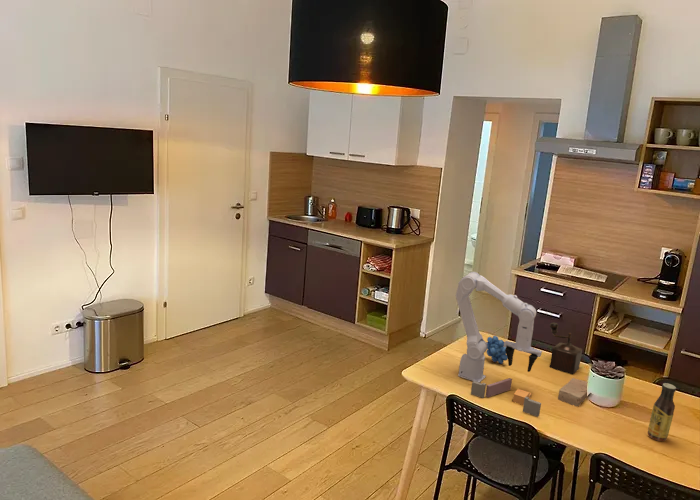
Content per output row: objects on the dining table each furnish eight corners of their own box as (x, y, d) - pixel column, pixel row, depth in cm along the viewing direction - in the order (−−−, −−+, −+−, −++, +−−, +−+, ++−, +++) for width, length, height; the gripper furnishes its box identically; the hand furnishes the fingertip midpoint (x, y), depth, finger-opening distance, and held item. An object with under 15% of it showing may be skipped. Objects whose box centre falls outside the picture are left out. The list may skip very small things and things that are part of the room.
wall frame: (470, 394, 212) (472, 380, 211) (472, 392, 213) (473, 379, 212) (538, 416, 198) (540, 403, 197) (539, 415, 199) (541, 401, 198)
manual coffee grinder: (580, 367, 245) (587, 329, 241) (572, 375, 236) (579, 336, 233) (546, 357, 254) (551, 320, 250) (537, 363, 246) (543, 326, 242)
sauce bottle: (643, 432, 192) (653, 380, 188) (659, 432, 193) (670, 380, 189) (654, 442, 186) (665, 389, 182) (671, 443, 187) (683, 389, 182)
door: (487, 397, 210) (489, 386, 209) (483, 394, 211) (484, 384, 210) (510, 389, 218) (512, 379, 217) (506, 387, 219) (507, 377, 218)
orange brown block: (512, 402, 208) (513, 393, 208) (519, 394, 216) (520, 385, 215) (524, 406, 206) (525, 397, 205) (531, 397, 213) (532, 389, 213)
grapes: (478, 359, 245) (481, 334, 243) (486, 356, 250) (489, 331, 247) (501, 369, 237) (504, 343, 235) (509, 365, 242) (512, 339, 239)
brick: (578, 408, 208) (580, 396, 207) (556, 399, 213) (558, 388, 212) (592, 394, 220) (594, 383, 219) (571, 387, 225) (573, 376, 224)
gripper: (502, 333, 215) (498, 365, 218) (539, 343, 207) (534, 376, 210) (509, 329, 221) (504, 360, 224) (545, 339, 213) (540, 371, 216)
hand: (519, 368), depth 217 cm, fingers open, 7 cm apart
